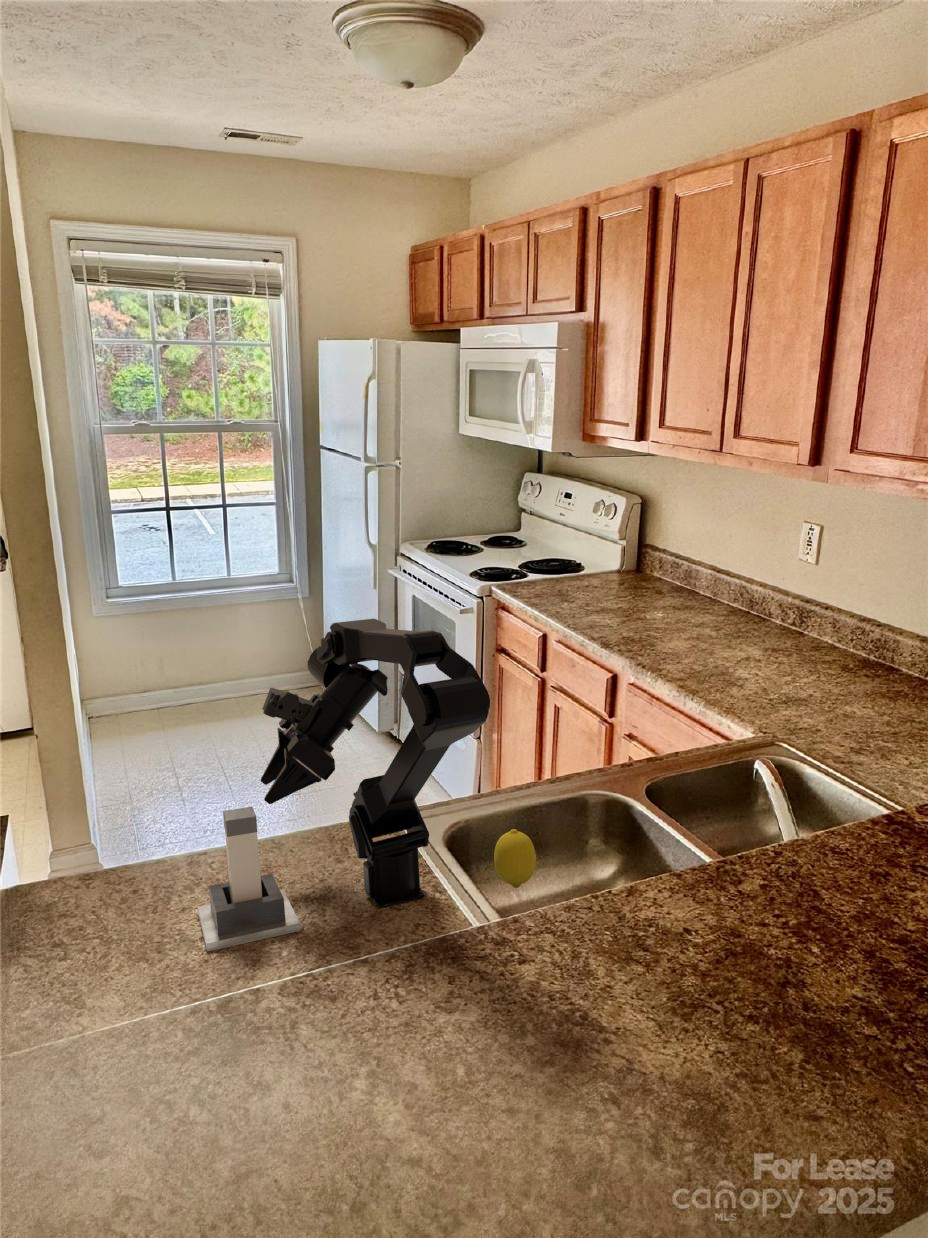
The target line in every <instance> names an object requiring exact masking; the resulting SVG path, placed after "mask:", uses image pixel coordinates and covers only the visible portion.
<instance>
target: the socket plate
mask: <svg viewBox="0 0 928 1238" xmlns="http://www.w3.org/2000/svg"><path fill="white" fill-rule="evenodd" d="M260 876H261V888H262V898H257V899H253V900H248V901H243V902H238V903H233V904H231V896H230V884H229V881H227V882H223V883H222V882H221V883H216V884H211V885H208V889H209V890H208V891H209V904H206V905H200V906H197V913H198V919H199V922H200V923H199V924H200V927H201V931H202V935H203V936H202V937H203V941H204V945H205V948H206V952H213V951H217V950H222V949H225V948H229V947H230V948H231V947H234V946H239V945H244V944H248V943H252V942H257V941H261V940H265V939H270V938H274V937H279V936H283V935H287V934H292V933H296V932H300V931H301V923H300V921H299V919H298V917H297V915H296V912H295V910H294V909H293V906H292V904H291V903H290V900H289V898H288V896H287V894H286V892H285V890H284V889H280V888H279V886H278V884H277V881H276V879H275V877H274V875H273V873H267V874H262V875H261V874H260Z"/></svg>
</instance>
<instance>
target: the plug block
mask: <svg viewBox="0 0 928 1238" xmlns="http://www.w3.org/2000/svg"><path fill="white" fill-rule="evenodd" d="M222 816H223V817H222V818H223V826H224V835H225V847H226V858H227V859H226V860H227V872H228V882H229V884H230V896H231V904H233V903H238V902H243V901H248V900H253V899H257V898H262V888H261V866H260V854H259V853H260V852H259V841H258V821H257V815H256V813H255V810H254V808H253V806H248V807H241V808H234V809H228V810H223V811H222Z"/></svg>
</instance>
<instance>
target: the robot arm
mask: <svg viewBox="0 0 928 1238" xmlns="http://www.w3.org/2000/svg"><path fill="white" fill-rule="evenodd" d="M329 629H330V631H328V632H326V634H325V636H324V638H323V637H322V638H321V639H320V645H319V646H318V647H316V648H315V649H314V650H313V651H312V653H310V656H309V658H308V660H307V669H308V672H309V673H310V675H311V676H312V677H313V678H314V679H316V681H317V682H318V683H319V684H320V685H321V686H322V687H323V688H324V690H323V691H322V692H321V693H320V694H319V693H315V694H313V695H312V696H311V697H310V699H306V698H304V697H302V696H299V695H298V693H296V692H295V693H292V692H290V691H289V690H285V691H284V690H281V689H278V688H275V687H269V690H268V693H267V696H266V698H265V701H264V703H263V706H262V713H263V714H264V715H266V716H268V717H270V718H278V719H281V720H280V721H278V725H279V727H277V730H276V732H277V739H278V745H277V747H276V749H275V750H274V752H273V755H272V757H271V759H270V760H269V763H268V764H267V766H266V768H265V769H264V772H263V774H262V776H261V777H260V782H261V783H262V784H264V785H265V786H266V785H269V784H271V783H272V785H271V786H270V788H269V790H267V791H268V792H266V795H265V796H264V798H263V799H264V802H265V803H267V804H269V805H272V804H274V803H276V802H278V801H280V800H282V799H284V798H286V797H289V796H290V795H293V794H295V793H297V792H298V791H301V790H303V789H304V788H307V787H310V786H311V785H314V784H316V783H321V782H322V781H325V782H326V781H327V780H328V779H329V777H330V776H332V774H333V773H334V772H335V770H336V762H335V761H336V760H335V757H334V756H333V755H332V752H333V751H334V750H335V748H334V746H333V745H334V743H335V742H336V741H338V739H339V738H340V736H341V735H342V734H343V733H344V732H345V731H346V730H347V731H348V732H350V731H351V729H353V727H355V726H354V723H353V721H354V720H355V719H356V718H357V716H358V715H359V714H360V713H361V712H362V711H363V710H364V708H365V707H366V706H367V705H368V704H369V702H371V700H372V699H373V698H374V697H375V695H376V694H377V693H380V694H381V695H382V696H383V697H386V696H387V695H388V690H389V689H388V676H387V675H386V674H385V673H384V672H382V671H381V670H380V669H375V670H373V669H370V668H369V667H368V666H367V665H364V664H361V663H363V662H371V661H379V662H382V663H383V662H384V663H390V664H398V665H400V667H401V669H402V670H403V679H402V683H401V691H400V695H401V697H402V699H403V701H404V704H405V706H406V708H407V711H408V714H409V717H410V719H411V721H412V723H413V725H412V726H411V729H409V732H408V734H407V735H406V736H405V739H404V741H403V742H402V744H401V746H400V747H399V748H398V751H397V752H396V754H395V756H394V758H393V759H392V761H391V763H390V764H389V766H388V768H387V770H386V771H385V773H384V774H381V775H378V776H372V777H368V778H364V779H362V781H361V782H360V783H359V785H358V788H357V790H356V792H353V794H352V795H353V797H354V799H353V801H352V803H351V806H350V808H349V813H348V814H349V815H348V822H349V825H350V831H351V835H352V841H353V845H354V847H355V848H354V849H355V851H356V855H357V858H358V859H365V860H364V861H363V862H362V867H363V868H362V869H363V885H364V892H365V893H366V894H367V896H368V897H369V898H370V899H371V900H372V901H373V903H374V904H375V906H377V907H379V908H381V907H386V906H390V905H395V904H399V903H403V902H408V901H413V900H417V899H422V898H425V896H426V894H425V891H424V890H423V889H422V888H421V880H420V877H421V876H420V864H419V863H420V862H419V848H425V847H428V846H429V839H430V832H429V830H428V827H427V825H426V823H425V821H424V818H423V817H422V814H421V812H420V809H419V806H418V803H417V801H416V797H417V796H418V795H419V793H420V791H422V788H423V787H424V786H425V784H426V783H427V781H428V780H429V778H430V777H431V775H432V774H433V772H434V770H435V769H437V766H438V764H439V763H440V762H441V760H442V759H443V758H444V756H445V754H446V752H447V751H448V750H449V748H450V746H451V745H452V744H454V743H457V742H458V741H461V740H462V739H464V738H466V737H467V736H469V735H472V734H473V733H475V732H476V731H477V730H478V729H480V727H482V725H484V724H485V723H486V722H487V719H488V717H489V713H490V708H491V698H490V694H489V691H488V690H487V688H486V686H485V683H484V682H483V680H482V678H481V676H480V674H479V673H478V672H477V669H476V668H475V666H474V665H473V664H472V663H471V662H470V661H469V660H467V658H464V657H463V656H462V655H461V654H459V653H458V652H456V651H455V650H454V649H453V648H451V647H450V645H449V644H448V641H447V640H446V639H445V636H444V635H443V634H442V632H439V631H435V630H432V629H431V630H424V631H418V630H406V629H394V628H387V624H386V623H385V622H384V621H381V620H379V619H377V618H365V619H354V620H347V621H340V622H339V621H338V622H334V623H333V622H332V623H331V625H330V626H329ZM429 665H435V666H436V668H437V669H438V670H439V671H441V672H442V673H443V674H444V675H445V676H447V677H448V679H444V680H437V681H431V682H423V683H420V684H419V682H418V680H417V678H416V676H415V668H416V667H423V666H429ZM402 831H403V832H404V831H406V833H403V834H398V835H395V836H392V837H391V836H390V837H387V838H383V839H379V840H376V841H374V840H373V839H376V838H380V837H383V836H388V835H391V834H395V833H399V832H402Z"/></svg>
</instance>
